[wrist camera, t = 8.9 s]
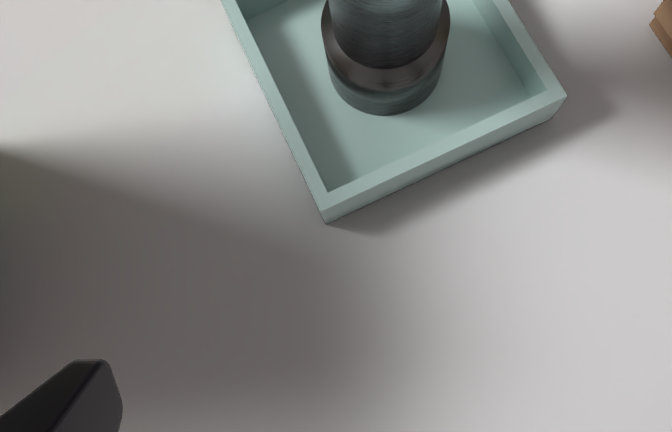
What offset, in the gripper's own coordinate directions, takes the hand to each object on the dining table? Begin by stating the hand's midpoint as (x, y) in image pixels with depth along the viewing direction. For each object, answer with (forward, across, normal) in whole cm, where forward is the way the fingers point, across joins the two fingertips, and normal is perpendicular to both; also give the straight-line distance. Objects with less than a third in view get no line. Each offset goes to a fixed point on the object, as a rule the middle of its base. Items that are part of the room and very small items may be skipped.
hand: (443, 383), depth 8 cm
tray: (+18, +1, +1) cm, 18 cm away
